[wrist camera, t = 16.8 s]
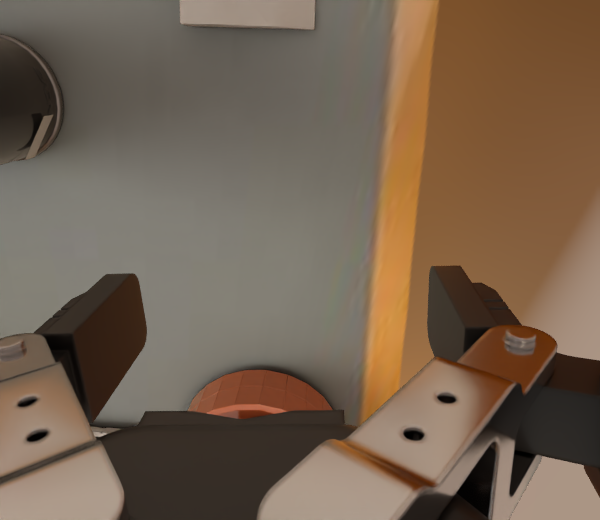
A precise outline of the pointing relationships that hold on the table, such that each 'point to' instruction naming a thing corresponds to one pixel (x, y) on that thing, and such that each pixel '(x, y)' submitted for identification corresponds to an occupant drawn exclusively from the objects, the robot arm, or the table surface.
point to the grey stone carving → (249, 13)
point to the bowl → (256, 395)
